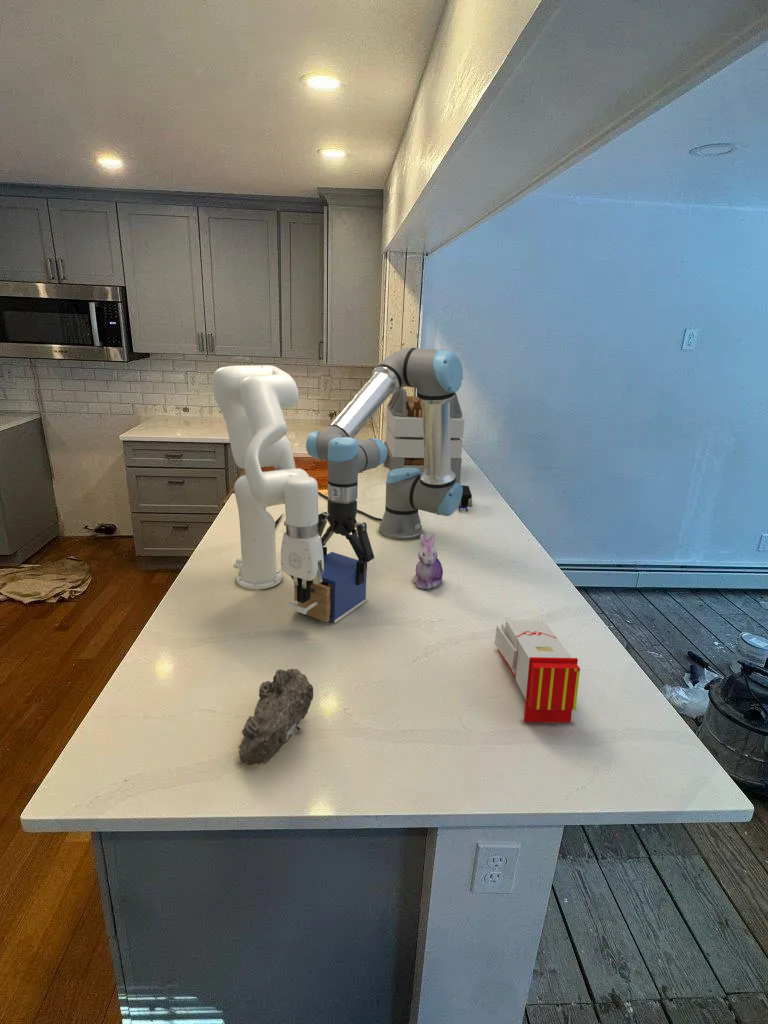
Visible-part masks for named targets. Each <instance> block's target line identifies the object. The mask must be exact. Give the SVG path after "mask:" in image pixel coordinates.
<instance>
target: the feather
mask: <svg viewBox="0 0 768 1024" xmlns="http://www.w3.org/2000/svg"><path fill="white" fill-rule="evenodd" d="M283 515H284V513H282V514H281V515H280V516H279V517H278V518H277V520H275V521H274V522H275V529H276V528H277V526H278V525H279V522H280V520H281V519H282V517H283Z"/></svg>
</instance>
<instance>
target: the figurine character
mask: <svg viewBox="0 0 768 1024" xmlns="http://www.w3.org/2000/svg"><path fill="white" fill-rule="evenodd" d="M461 485H462V484H461ZM462 487H463V493H462V498H461V501H460V503H459V506H458V507H457V509H458V511H459V512H461V511H462V510H461V509H465V511H466V512H468V511H469V510H468V508H472V507H473V498H472V497H473V495H472V492H471V489H470V486H469V485H465V484H463V485H462Z"/></svg>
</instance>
